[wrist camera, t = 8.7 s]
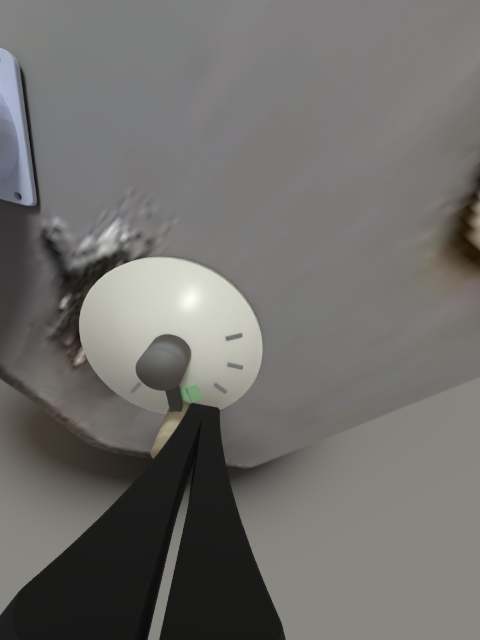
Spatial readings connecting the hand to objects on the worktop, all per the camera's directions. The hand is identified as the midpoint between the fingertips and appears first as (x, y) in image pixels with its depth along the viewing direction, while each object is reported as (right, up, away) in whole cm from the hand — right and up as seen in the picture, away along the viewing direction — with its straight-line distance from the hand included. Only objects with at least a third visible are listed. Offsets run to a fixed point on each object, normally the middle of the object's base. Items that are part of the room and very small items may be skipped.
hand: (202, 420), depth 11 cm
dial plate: (-4, +2, +10) cm, 11 cm away
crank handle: (-4, -1, +10) cm, 11 cm away
